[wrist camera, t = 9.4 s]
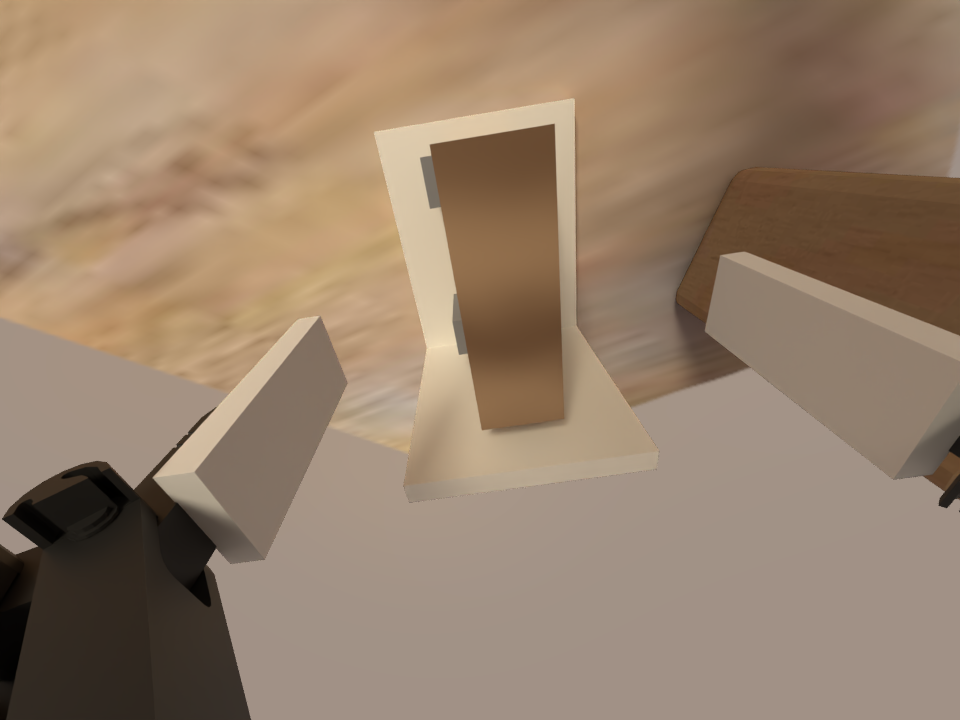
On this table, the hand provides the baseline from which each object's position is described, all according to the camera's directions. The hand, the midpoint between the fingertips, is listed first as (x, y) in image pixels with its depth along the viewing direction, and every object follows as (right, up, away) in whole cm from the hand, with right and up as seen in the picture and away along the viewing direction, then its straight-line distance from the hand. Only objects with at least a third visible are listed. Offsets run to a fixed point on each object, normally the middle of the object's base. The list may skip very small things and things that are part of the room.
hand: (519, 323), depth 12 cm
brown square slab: (-1, +7, +12) cm, 14 cm away
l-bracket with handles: (-1, +7, +14) cm, 16 cm away
